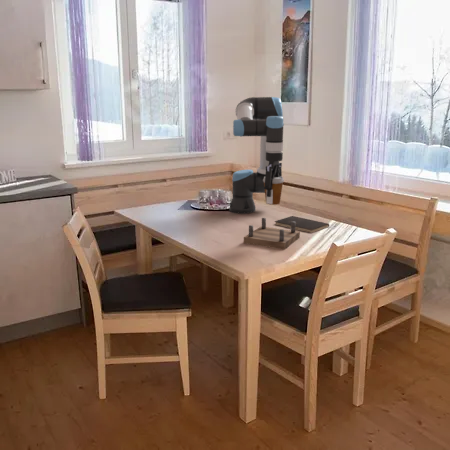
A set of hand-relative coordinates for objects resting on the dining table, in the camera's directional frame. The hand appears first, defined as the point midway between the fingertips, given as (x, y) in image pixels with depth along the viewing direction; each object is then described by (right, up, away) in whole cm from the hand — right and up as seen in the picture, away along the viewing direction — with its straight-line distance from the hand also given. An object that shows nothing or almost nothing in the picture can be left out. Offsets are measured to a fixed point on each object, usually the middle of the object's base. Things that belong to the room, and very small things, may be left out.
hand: (273, 201), depth 227 cm
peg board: (0, -18, +5) cm, 19 cm away
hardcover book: (+18, -12, +30) cm, 37 cm away
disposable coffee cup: (0, -1, 0) cm, 1 cm away
